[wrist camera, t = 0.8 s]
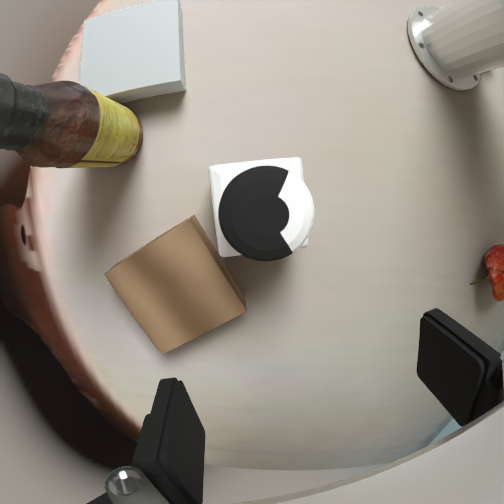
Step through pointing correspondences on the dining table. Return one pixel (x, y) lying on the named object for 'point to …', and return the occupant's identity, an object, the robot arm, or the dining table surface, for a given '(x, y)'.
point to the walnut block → (177, 286)
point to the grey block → (134, 52)
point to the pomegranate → (495, 270)
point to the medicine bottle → (261, 208)
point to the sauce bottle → (66, 125)
